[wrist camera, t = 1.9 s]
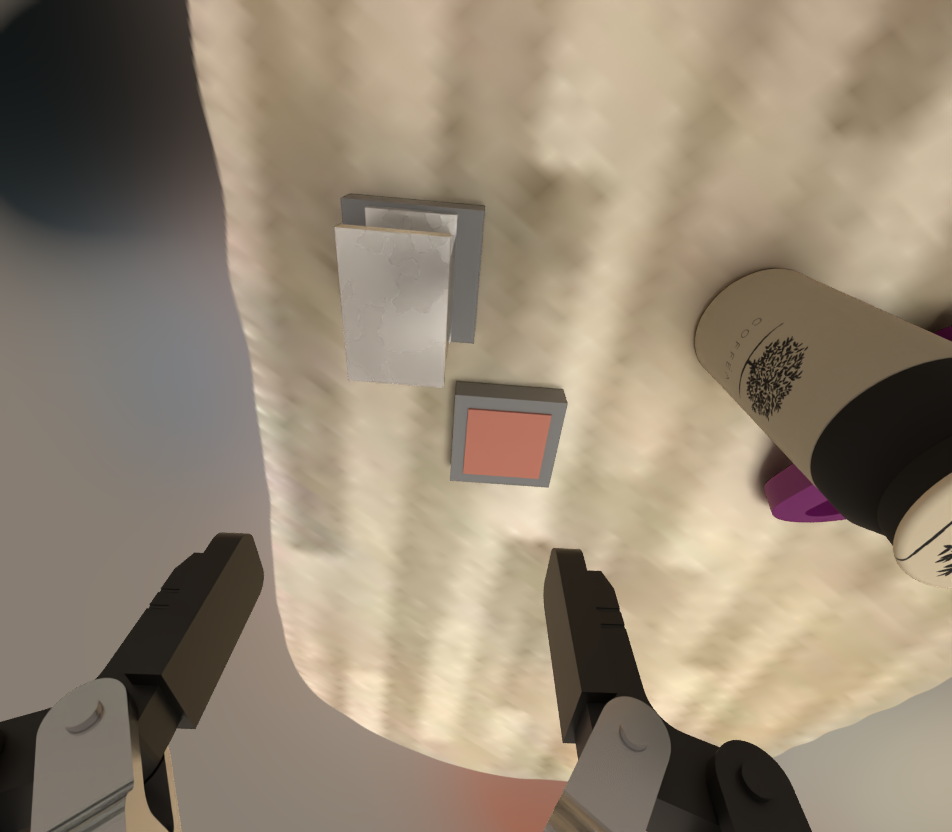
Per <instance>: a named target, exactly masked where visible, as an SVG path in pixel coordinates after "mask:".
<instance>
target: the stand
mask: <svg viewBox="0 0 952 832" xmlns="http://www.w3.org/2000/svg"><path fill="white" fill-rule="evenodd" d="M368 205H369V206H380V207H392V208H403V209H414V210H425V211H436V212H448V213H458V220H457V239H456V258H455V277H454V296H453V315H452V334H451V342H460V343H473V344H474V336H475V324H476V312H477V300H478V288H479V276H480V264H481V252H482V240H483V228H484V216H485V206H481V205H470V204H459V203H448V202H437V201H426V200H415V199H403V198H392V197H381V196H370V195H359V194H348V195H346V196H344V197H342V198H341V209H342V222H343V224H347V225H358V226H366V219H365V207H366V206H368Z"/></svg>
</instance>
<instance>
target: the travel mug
mask: <svg viewBox="0 0 952 832" xmlns="http://www.w3.org/2000/svg"><path fill="white" fill-rule="evenodd" d="M695 349H696V354H697V357H698V359H699V361H700V363H701V364H702V366H703V367H704V368H705V369H706V370H707V371H708V372H709V373H710V374H711V375H712V377H713V378H714V379H715V380H716V381H717V382H718V383H719V384H720V385H721V386H722V387H723V388H724V389H725V390H726V392H727V393H728V394H729V395H730V396H731V397H732V398H733V399H734V400H735V401H736V402H737V403H738V404H739V405H740V407H741V408H742V409H743V410H744V411H745V412H746V413H747V414H748V415H749V416H750V417H751V418H752V419H753V420H754V422H755V423H756V424H757V425H758V426H759V427H760V428H761V429H762V430H763V431H764V432H765V433H766V434H767V435H768V437H769V438H770V439H771V440H772V441H773V442H774V443H775V444H776V445H777V446H778V447H779V448H780V449H781V450H782V452H783V453H784V454H785V455H786V456H787V457H788V458H789V459H790V460H791V461H792V462H793V463H794V464H795V465H796V467H797V468H798V469H799V470H800V471H801V472H802V473H803V474H804V475H805V476H806V477H807V478H808V479H809V480H810V482H811V483H812V484H813V485H814V486H815V487H816V488H817V489H818V490H819V491H820V492H821V493H822V494H823V495H824V497H825V498H826V499H827V500H828V501H829V502H830V503H831V504H832V505H833V506H834V507H835V508H836V509H837V510H838V512H839V513H840V514H841V515H842V516H843V517H845V518H846V519H847V520H848V521H850V522H852V523H854V524H856V525H858V526H860V527H863V528H866V529H868V530H871V531H874V532H876V533H879V534H882V535H884V536H886V537H887V539H888V540H889V541H890V543H891V544H892V545H893V552H894V557H895V559H896V561H897V563H898V565H899V566H900V568H901V569H902V570H903V571H904V572H905V573H906V574H907V575H909V576H910V577H912V578H913V579H915V580H917V581H919V582H922V583H924V584H927V585H931V586H935V587H940V588H947V589H952V342H951V341H949V340H947V339H945V338H942V337H940V336H938V335H936V334H934V333H931V332H929V331H927V330H925V329H922V328H920V327H918V326H916V325H914V324H911V323H909V322H907V321H905V320H902V319H900V318H898V317H896V316H894V315H891V314H889V313H887V312H885V311H882V310H880V309H878V308H876V307H874V306H871V305H869V304H867V303H865V302H862V301H860V300H858V299H856V298H853V297H851V296H849V295H847V294H845V293H842V292H840V291H838V290H836V289H833V288H831V287H829V286H827V285H825V284H822V283H820V282H818V281H816V280H813V279H811V278H809V277H807V276H805V275H802V274H800V273H798V272H795V271H792V270H787V269H769V270H763V271H759V272H755V273H752V274H750V275H747V276H745V277H743V278H741V279H739V280H737V281H736V282H734V283H733V284H731V285H730V286H728V287H727V288H726V289H724V290H723V291H722V292H721V293H720V294H719V295H718V296H717V297H716V298H715V299H714V300H713V301H712V302H711V304H710V305H709V306H708V307H707V309H706V310H705V312H704V314H703V316H702V317H701V320H700V322H699V324H698V327H697V331H696V336H695Z"/></svg>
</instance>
